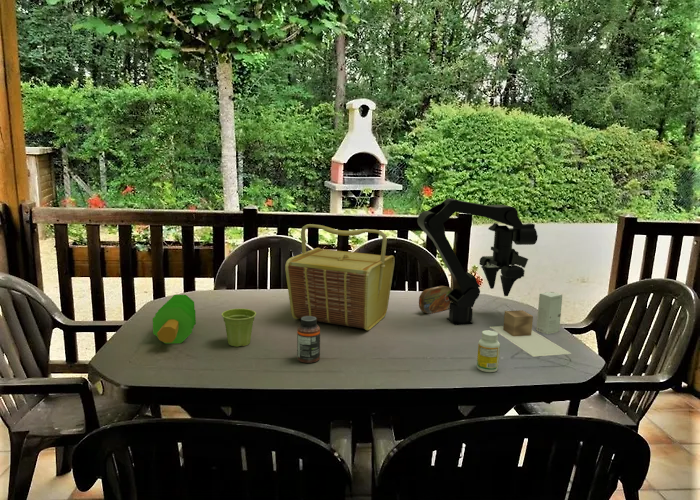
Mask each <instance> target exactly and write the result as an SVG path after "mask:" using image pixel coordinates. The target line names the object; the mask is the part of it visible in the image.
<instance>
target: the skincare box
mask: <svg viewBox="0 0 700 500" xmlns="http://www.w3.org/2000/svg"><path fill="white" fill-rule="evenodd" d="M562 304H563V293H562V294H561V293H559V292H554V291H546V292H541V293H539V295H538V309H537V317H536V330H535V332H540V333H542V334H545V335H549V334H555V333H558V332H560V328H561V327H560V325H561V316H562Z"/></svg>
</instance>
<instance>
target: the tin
mask: <svg viewBox="0 0 700 500" xmlns="http://www.w3.org/2000/svg"><path fill="white" fill-rule="evenodd" d="M452 290H453V289H452V288H451V287H449V286H445V285H439V286H434V287H430V288H426V289H424V290H423V291H421V293H420V295H419V298H418V307H419V309H420V311H422V312H423V313H426V314H428V315H432V314H436V313H440V312H443V311H444V312H445V311H447V310H449V308H450V303H452V301H450V300H449V298H448V294H449V293H450V292H451V291H452Z"/></svg>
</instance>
